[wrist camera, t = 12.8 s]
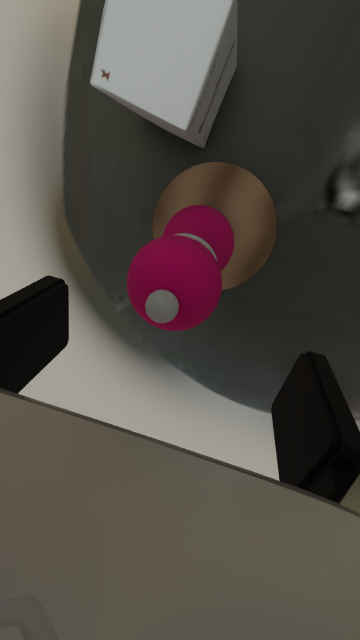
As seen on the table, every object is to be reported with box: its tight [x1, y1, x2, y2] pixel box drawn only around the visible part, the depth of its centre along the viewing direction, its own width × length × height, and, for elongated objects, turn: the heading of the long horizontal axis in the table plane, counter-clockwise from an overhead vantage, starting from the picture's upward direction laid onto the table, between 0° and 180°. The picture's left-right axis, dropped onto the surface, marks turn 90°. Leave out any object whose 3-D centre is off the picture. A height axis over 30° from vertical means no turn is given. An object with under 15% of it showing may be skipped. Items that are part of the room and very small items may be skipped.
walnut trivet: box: [153, 162, 277, 290], centre depth 31 cm, size 14×14×2 cm
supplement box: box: [90, 0, 237, 148], centre depth 21 cm, size 7×7×13 cm
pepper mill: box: [127, 205, 234, 331], centre depth 22 cm, size 7×7×20 cm
